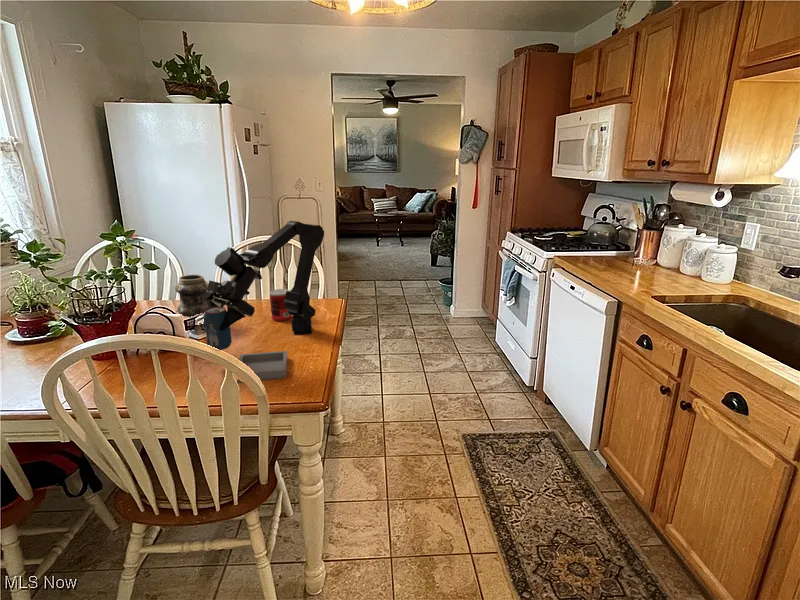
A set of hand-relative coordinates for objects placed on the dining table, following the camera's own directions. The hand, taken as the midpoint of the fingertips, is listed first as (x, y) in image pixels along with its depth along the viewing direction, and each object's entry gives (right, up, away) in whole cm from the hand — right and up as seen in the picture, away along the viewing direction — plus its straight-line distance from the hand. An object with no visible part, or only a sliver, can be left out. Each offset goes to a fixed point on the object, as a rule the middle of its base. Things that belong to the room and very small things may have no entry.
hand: (213, 327), depth 135 cm
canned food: (+9, +1, +45) cm, 46 cm away
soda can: (+1, -6, +3) cm, 7 cm away
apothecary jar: (-23, 0, +40) cm, 46 cm away
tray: (+15, -13, +1) cm, 19 cm away
